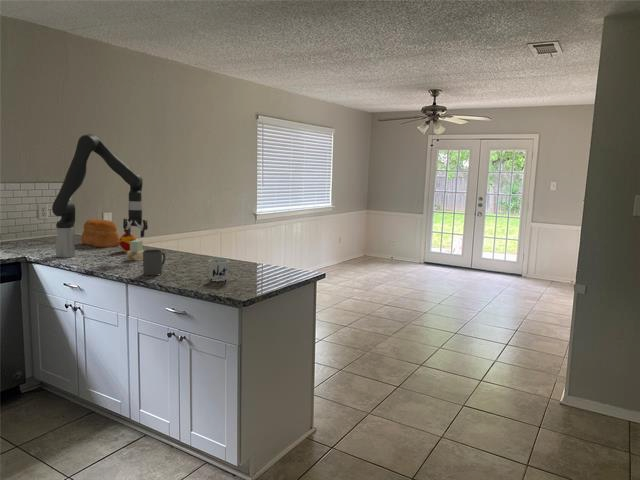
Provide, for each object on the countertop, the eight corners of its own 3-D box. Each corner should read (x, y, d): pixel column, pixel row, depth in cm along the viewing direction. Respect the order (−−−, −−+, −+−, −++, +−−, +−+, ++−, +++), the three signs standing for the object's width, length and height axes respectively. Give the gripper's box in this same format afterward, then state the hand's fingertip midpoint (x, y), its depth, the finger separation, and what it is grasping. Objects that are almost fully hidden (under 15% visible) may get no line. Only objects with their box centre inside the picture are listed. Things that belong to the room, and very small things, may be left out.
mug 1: (153, 276, 246) (152, 253, 244) (139, 274, 250) (138, 251, 248) (172, 272, 258) (171, 249, 256) (158, 269, 262) (158, 247, 260)
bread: (101, 248, 320) (100, 222, 318) (78, 243, 334) (77, 218, 332) (122, 245, 333) (122, 220, 330) (100, 241, 347) (99, 217, 345)
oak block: (127, 260, 286) (126, 251, 286) (135, 257, 294) (135, 249, 293) (138, 261, 284) (138, 252, 283) (147, 258, 292) (147, 250, 291)
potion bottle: (115, 252, 309) (114, 228, 307) (127, 249, 318) (127, 226, 316) (128, 253, 305) (127, 229, 303) (140, 251, 314) (139, 227, 312)
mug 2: (210, 283, 236) (210, 263, 235) (204, 276, 250) (204, 257, 248) (231, 282, 240) (231, 261, 239) (225, 275, 254) (225, 256, 252)
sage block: (130, 251, 286) (129, 241, 285) (135, 250, 291) (134, 240, 290) (137, 252, 285) (137, 241, 284) (142, 250, 290) (142, 240, 289)
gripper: (120, 208, 282) (120, 236, 285) (142, 210, 280) (143, 238, 282) (127, 207, 289) (128, 234, 292) (149, 209, 287) (150, 236, 289)
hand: (135, 236), depth 287 cm, fingers open, 8 cm apart
